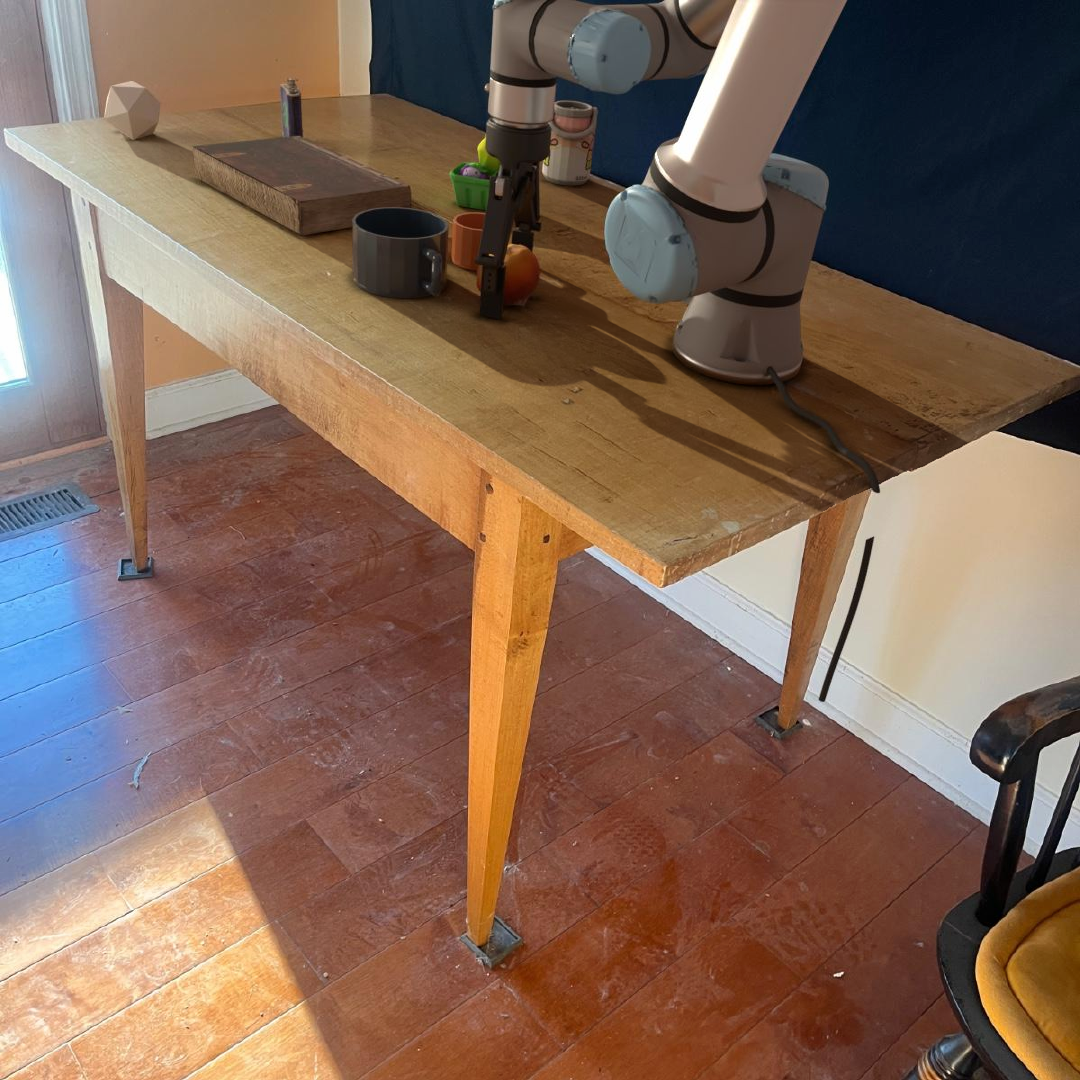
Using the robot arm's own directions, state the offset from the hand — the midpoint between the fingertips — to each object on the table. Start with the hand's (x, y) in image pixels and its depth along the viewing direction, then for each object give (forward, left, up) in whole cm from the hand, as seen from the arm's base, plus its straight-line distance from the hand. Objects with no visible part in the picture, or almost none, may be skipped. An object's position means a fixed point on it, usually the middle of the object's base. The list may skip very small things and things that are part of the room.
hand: (505, 297), depth 130 cm
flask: (+71, -4, 0) cm, 72 cm away
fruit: (0, 0, 0) cm, 0 cm away
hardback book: (+44, +7, 0) cm, 45 cm away
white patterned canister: (+39, -39, 0) cm, 55 cm away
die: (+83, +19, 0) cm, 86 cm away
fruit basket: (+32, -19, 0) cm, 38 cm away
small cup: (+13, -5, 0) cm, 14 cm away
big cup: (+9, +9, 0) cm, 13 cm away
